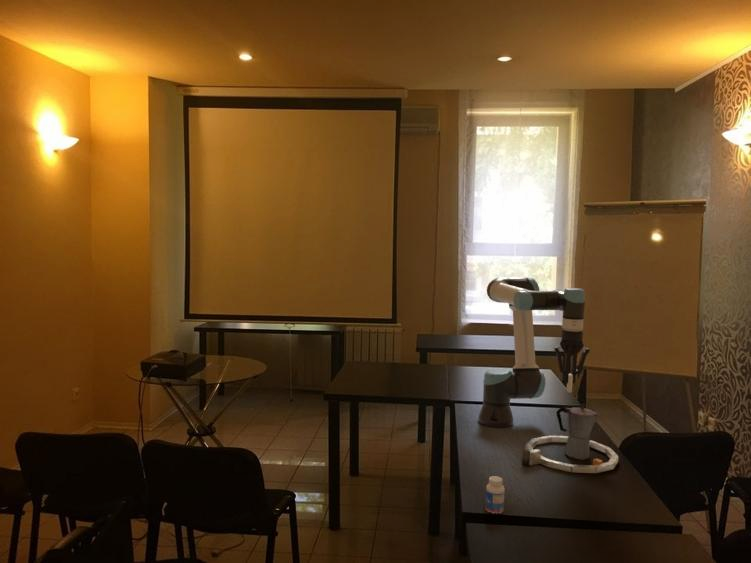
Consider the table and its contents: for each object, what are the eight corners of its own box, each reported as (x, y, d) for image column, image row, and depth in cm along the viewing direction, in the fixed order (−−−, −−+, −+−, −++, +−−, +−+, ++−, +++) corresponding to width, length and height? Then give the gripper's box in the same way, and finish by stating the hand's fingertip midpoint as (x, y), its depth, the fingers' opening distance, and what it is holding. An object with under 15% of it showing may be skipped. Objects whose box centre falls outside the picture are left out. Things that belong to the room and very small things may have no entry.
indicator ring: (493, 450, 225) (494, 437, 225) (570, 436, 243) (570, 424, 243) (555, 482, 197) (555, 468, 196) (636, 463, 215) (636, 450, 214)
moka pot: (599, 462, 216) (602, 409, 215) (555, 457, 220) (557, 405, 218) (596, 453, 225) (598, 402, 224) (554, 449, 229) (556, 398, 228)
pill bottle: (483, 505, 180) (484, 474, 179) (500, 505, 180) (501, 474, 179) (488, 514, 174) (489, 482, 174) (506, 514, 175) (507, 482, 174)
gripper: (556, 330, 218) (553, 393, 220) (593, 332, 216) (589, 395, 218) (552, 327, 225) (549, 387, 227) (587, 328, 224) (584, 389, 226)
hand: (569, 391), depth 223 cm, fingers closed
